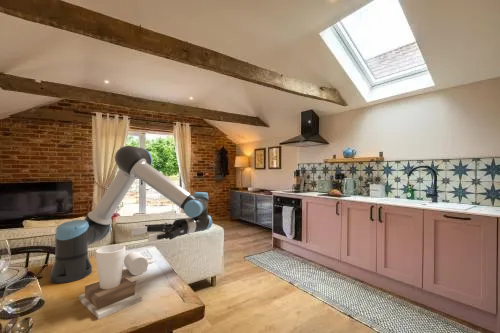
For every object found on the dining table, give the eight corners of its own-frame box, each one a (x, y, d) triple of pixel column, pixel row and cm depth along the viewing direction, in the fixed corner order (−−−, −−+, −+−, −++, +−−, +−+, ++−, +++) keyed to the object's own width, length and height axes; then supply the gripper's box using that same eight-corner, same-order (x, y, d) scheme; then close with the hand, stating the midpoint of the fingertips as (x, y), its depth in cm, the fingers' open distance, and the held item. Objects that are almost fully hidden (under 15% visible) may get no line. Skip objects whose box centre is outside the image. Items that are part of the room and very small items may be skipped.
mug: (129, 277, 105) (129, 259, 105) (123, 270, 113) (123, 253, 113) (156, 270, 113) (157, 253, 113) (149, 264, 121) (150, 248, 121)
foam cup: (95, 294, 80) (96, 255, 81) (94, 283, 88) (94, 247, 88) (127, 286, 86) (127, 249, 86) (123, 276, 94) (123, 243, 94)
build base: (78, 300, 87) (79, 284, 87) (119, 285, 98) (119, 272, 98) (98, 319, 76) (98, 301, 76) (141, 300, 87) (141, 285, 87)
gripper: (200, 239, 105) (156, 251, 89) (168, 229, 121) (125, 238, 104) (201, 222, 106) (156, 231, 89) (168, 215, 121) (125, 221, 104)
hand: (139, 235), depth 97 cm, fingers open, 13 cm apart
